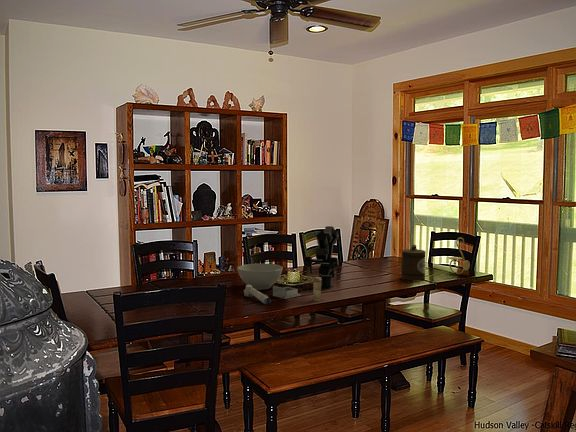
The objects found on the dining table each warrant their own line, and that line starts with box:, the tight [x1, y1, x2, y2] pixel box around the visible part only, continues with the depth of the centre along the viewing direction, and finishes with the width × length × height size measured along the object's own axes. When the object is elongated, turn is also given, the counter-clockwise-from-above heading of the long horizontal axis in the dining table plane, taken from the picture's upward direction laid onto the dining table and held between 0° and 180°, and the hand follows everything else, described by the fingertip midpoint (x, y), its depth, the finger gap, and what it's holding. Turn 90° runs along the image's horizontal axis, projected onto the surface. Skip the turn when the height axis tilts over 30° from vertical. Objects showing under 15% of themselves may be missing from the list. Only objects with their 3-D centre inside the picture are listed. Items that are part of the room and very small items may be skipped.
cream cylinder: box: [312, 276, 322, 302], centre depth 270 cm, size 4×4×12 cm
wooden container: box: [401, 244, 427, 281], centre depth 326 cm, size 15×15×22 cm
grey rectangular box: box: [272, 285, 302, 300], centre depth 281 cm, size 12×10×6 cm
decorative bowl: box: [237, 263, 284, 291], centre depth 301 cm, size 27×27×12 cm
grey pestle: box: [243, 284, 272, 305], centre depth 272 cm, size 5×7×25 cm
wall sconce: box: [447, 237, 471, 275], centre depth 340 cm, size 14×10×25 cm
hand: (319, 274), depth 276 cm, fingers open, 9 cm apart
